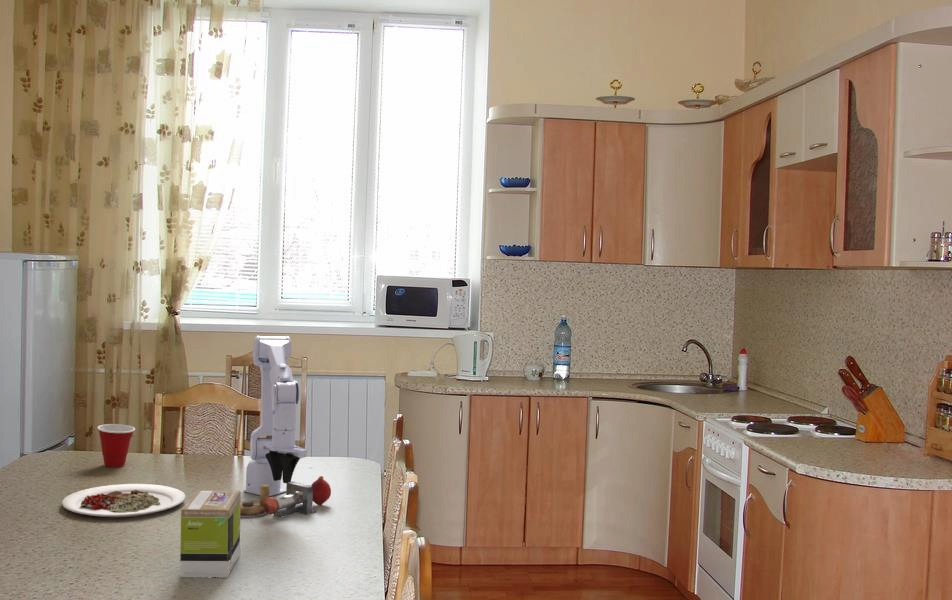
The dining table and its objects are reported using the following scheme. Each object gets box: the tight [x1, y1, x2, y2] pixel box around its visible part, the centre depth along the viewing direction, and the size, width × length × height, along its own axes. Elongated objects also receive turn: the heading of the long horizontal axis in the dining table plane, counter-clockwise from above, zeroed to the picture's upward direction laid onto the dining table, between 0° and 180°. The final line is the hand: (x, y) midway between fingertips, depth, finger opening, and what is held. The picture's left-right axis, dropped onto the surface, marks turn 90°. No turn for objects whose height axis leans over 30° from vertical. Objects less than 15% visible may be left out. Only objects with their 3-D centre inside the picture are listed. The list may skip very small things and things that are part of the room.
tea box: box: [179, 490, 242, 579], centre depth 195 cm, size 15×10×15 cm, turn 5°
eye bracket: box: [273, 480, 317, 518], centre depth 237 cm, size 9×10×7 cm
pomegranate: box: [310, 475, 332, 506], centre depth 245 cm, size 6×6×8 cm
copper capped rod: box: [263, 491, 303, 515], centre depth 236 cm, size 4×13×4 cm, turn 147°
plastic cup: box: [96, 423, 136, 468], centre depth 279 cm, size 11×11×12 cm
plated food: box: [61, 483, 186, 518], centre depth 238 cm, size 30×30×3 cm
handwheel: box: [240, 485, 270, 515], centre depth 236 cm, size 10×10×6 cm
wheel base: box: [240, 512, 268, 519], centre depth 237 cm, size 12×12×1 cm
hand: (282, 481), depth 234 cm, fingers open, 3 cm apart
